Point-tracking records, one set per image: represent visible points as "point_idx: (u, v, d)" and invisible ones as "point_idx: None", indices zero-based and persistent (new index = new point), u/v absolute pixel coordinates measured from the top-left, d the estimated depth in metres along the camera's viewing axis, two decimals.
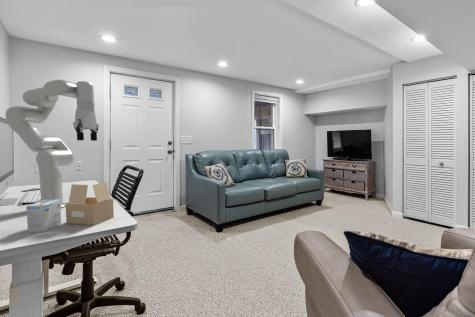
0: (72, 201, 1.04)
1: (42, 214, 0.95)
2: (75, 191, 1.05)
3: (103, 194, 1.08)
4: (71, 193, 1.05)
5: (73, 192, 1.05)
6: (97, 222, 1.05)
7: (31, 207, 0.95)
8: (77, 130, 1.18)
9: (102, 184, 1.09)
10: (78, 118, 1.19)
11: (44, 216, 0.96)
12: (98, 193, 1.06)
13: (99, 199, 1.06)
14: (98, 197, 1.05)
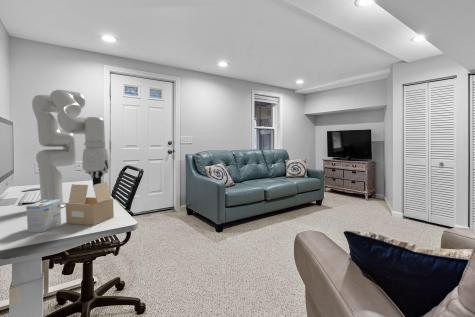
0: (72, 201, 1.04)
1: (42, 214, 0.95)
2: (75, 191, 1.05)
3: (103, 194, 1.08)
4: (71, 193, 1.05)
5: (73, 192, 1.05)
6: (97, 222, 1.05)
7: (31, 207, 0.95)
8: (100, 175, 1.08)
9: (102, 184, 1.09)
10: (105, 159, 1.07)
11: (44, 216, 0.96)
12: (98, 193, 1.06)
13: (99, 199, 1.06)
14: (98, 197, 1.05)
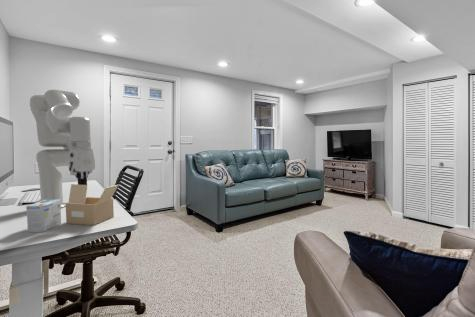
0: (72, 201, 1.04)
1: (42, 214, 0.95)
2: (74, 191, 1.05)
3: (107, 195, 1.08)
4: (71, 193, 1.05)
5: (73, 192, 1.05)
6: (97, 222, 1.05)
7: (31, 207, 0.95)
8: None
9: (113, 187, 1.08)
10: None
11: (44, 216, 0.96)
12: (104, 194, 1.05)
13: (101, 199, 1.05)
14: (101, 198, 1.05)
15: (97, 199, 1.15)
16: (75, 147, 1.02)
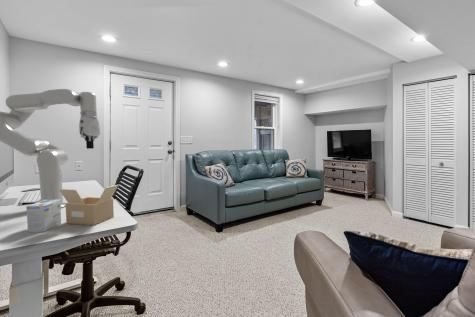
0: (71, 202, 1.04)
1: (42, 214, 0.95)
2: (66, 194, 1.01)
3: (107, 195, 1.08)
4: (64, 196, 1.02)
5: (66, 195, 1.01)
6: (97, 222, 1.05)
7: (31, 207, 0.95)
8: None
9: (113, 187, 1.08)
10: None
11: (44, 216, 0.96)
12: (104, 194, 1.05)
13: (101, 199, 1.05)
14: (101, 198, 1.05)
15: (97, 199, 1.15)
16: (84, 115, 1.30)
